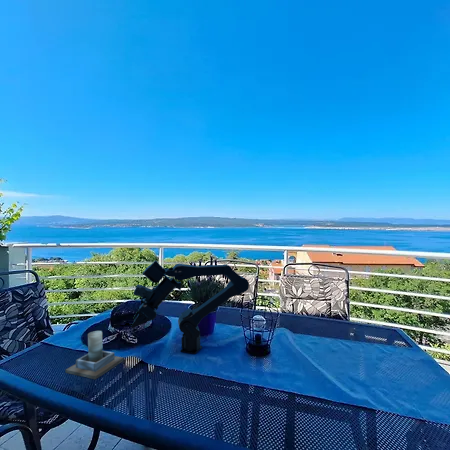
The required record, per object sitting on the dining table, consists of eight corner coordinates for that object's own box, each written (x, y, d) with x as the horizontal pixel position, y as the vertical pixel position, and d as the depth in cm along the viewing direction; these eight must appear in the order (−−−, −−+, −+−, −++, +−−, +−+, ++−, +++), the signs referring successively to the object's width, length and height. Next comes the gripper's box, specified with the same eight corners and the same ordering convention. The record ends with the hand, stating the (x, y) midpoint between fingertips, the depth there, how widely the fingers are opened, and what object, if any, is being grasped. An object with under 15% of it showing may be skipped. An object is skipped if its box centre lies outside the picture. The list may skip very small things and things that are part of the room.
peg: (104, 359, 98) (104, 330, 98) (100, 366, 93) (99, 335, 93) (91, 360, 97) (90, 331, 97) (86, 367, 93) (85, 336, 93)
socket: (123, 360, 99) (123, 350, 99) (95, 379, 87) (95, 368, 87) (96, 355, 104) (95, 346, 104) (65, 372, 91) (65, 362, 91)
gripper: (147, 273, 112) (119, 302, 110) (145, 281, 94) (112, 317, 91) (167, 290, 114) (140, 320, 111) (169, 302, 96) (137, 337, 93)
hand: (132, 323), depth 102 cm, fingers open, 9 cm apart
